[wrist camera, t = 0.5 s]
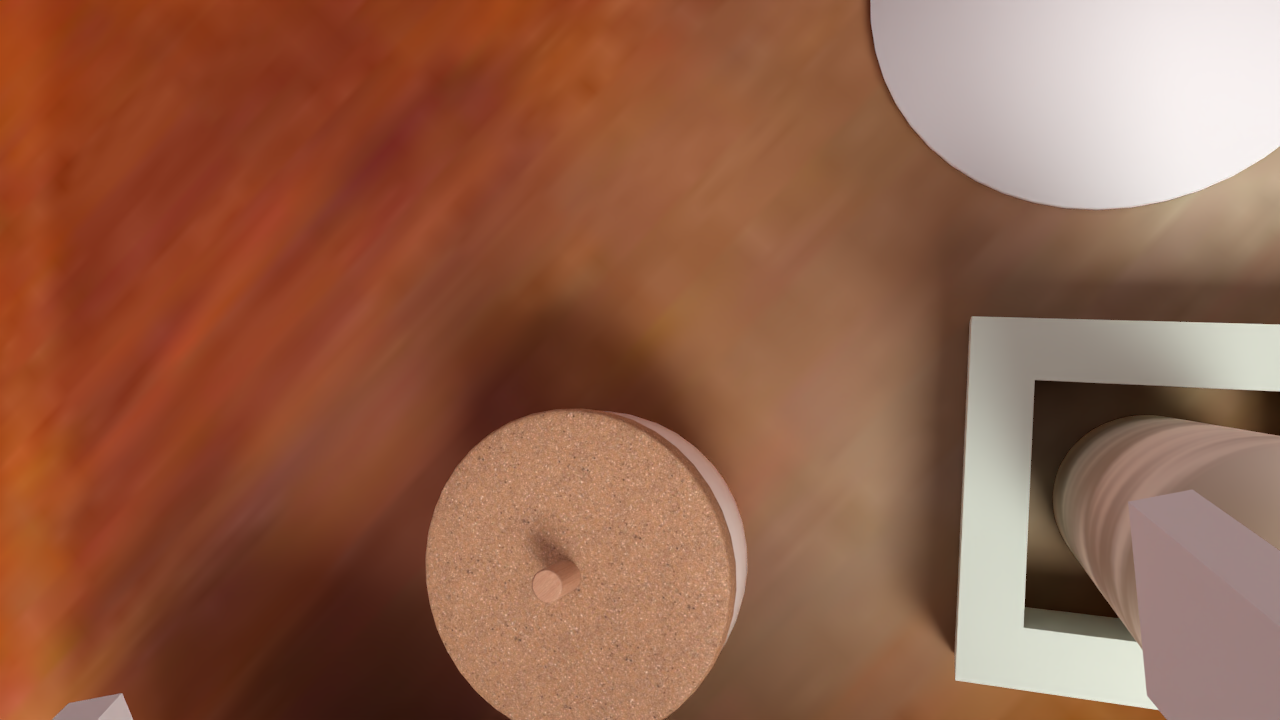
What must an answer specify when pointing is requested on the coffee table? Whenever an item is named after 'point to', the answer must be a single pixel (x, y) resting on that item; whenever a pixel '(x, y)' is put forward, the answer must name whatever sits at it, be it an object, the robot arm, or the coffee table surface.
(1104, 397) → the coffee table surface
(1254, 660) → the robot arm
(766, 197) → the coffee table surface
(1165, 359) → the hollow square frame
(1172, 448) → the ash peg
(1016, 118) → the white round plate
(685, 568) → the lidded jar
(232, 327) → the coffee table surface
